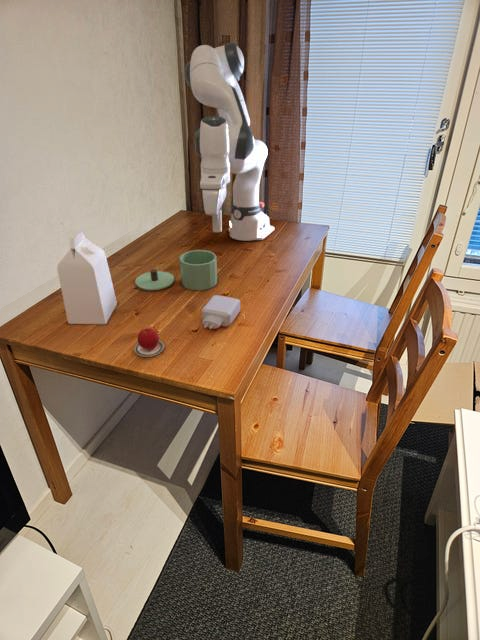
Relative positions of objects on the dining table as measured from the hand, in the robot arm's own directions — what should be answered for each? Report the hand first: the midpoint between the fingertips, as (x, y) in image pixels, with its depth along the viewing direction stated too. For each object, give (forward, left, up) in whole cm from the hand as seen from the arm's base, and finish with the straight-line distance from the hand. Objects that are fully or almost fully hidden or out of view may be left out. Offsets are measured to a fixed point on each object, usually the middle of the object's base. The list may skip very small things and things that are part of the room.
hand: (216, 219), depth 133 cm
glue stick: (0, 0, -4) cm, 4 cm away
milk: (+39, -18, -23) cm, 49 cm away
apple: (+41, +10, -23) cm, 49 cm away
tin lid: (+13, -18, -22) cm, 32 cm away
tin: (+3, -6, -23) cm, 24 cm away
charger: (+19, +16, -23) cm, 34 cm away
